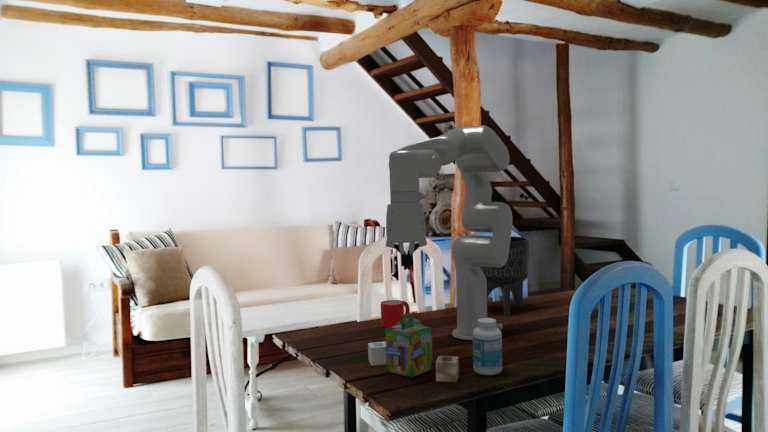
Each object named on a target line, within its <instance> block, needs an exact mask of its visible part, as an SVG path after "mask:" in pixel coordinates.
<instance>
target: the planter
mask: <svg viewBox="0 0 768 432" xmlns="http://www.w3.org/2000/svg"><path fill="white" fill-rule="evenodd" d="M529 253H530V239H529V238H528V237H523V236H512V235H511V240H510V248H509V255H508V260H507V262H506V264H505V265H504V266H502V267H498V268H495V267H480V268H481V269H482V271H483V273H484V274H485V277H486V280H487V301H488V299H489V296H490V294H491V293H492V292H493V291H494V290H495V289H498V288H500V289H501V295H502V303H503V304H502V305H503V315H504V316H511V294H512V296H513V300H514V306H515V308H518V309H520V308H523V302H524V301H523V299H524V297H523V296H524V293H523V292H524V291H523V290H524V282H525V281H526V280H527V279H528V278H529V263H530V262H529V261H530V260H529V259H530V254H529Z"/></svg>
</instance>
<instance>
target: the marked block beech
mask: <svg viewBox="0 0 768 432" xmlns="http://www.w3.org/2000/svg"><path fill="white" fill-rule="evenodd" d="M459 375H460V374H459V356H455V355H454V356H452V355H451V356H449V355H438V356H437V359H436V361H435V381H436V382H443V383H457V381H458V378H459Z"/></svg>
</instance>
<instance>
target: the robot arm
mask: <svg viewBox="0 0 768 432" xmlns="http://www.w3.org/2000/svg"><path fill="white" fill-rule="evenodd" d="M510 160H511V159H510V153H509V149H508V147H507V146H506V145H505V143H504V142H503V140H502V139H501V138H500V136H499V135H498V134H497V133H496V132H495V130H493V129H492V128H490V127H489V126H487V125H483V124H482V125H467V126H459V127H455V128H453V129H451V130H449V131H447V132H445V133H442V134H440V135H439V136H436V137H431V138H428V139H426V140H422V141H419V142H415V143H410V144H408V145H406V146H403V147H401V148H398V149H397V150H394V151H391V152H390V154H389V155H388V169H389V170H388V171H389V196H390V197H389V198H390V203H388V204H387V206H386V213H385V214H386V215H385V216H386V217H385V219H386V220H385V222H386V223H385V236H386V240H385V247H386V248H390V249H395V250H396V251H397V252H398V253H399V254H400V266H401V267H403V270H404V271H405V270H406V271H407V270H409V271H411V269H412V268H411V267H413V266H414V260H413V259H414V257H413V254H415V252H416V251H417V250H418V249H419V248H422V247H425V246H427V245H428V241H427V230H426V218H425V212H424V211H425V209H424V205H423V203H422V202H421V200H423V199H426V194H425V193H422V192H420V179H428V178H434V177H435V176H437V175H438V174H439V173H440V172H441V169H442V167H443V166H448V165H450V164H452V163H454V162H455V163H456V165H457V168H458V170H459V173H460V174H461V177H462V179H463V180H462V181H463V183H464V197H463V198H464V199H463V204H462V211H461V212H462V214H461V226H462V228H463V229H464V230H466V231H468V232H471V233H472V232H473V233H491V234H492V235H472V234H471V235H470V234H469V235H461V236H458V237H456V238H455V239H454V241H453V243H452V247H451V251H452V253H451V254H452V259H453V262H454V263H453V264H454V269H455V283H456V285H455V288H456V290H455V294H456V328H454V329H453V330H452V336H453V337H454V338H455V339H456V338H457V339H460V340H466V341H473V331H474V329H475V328H477V327H479V326H478V319H481V318H488V300H487V280H486V277H485V274H484V273H483V271H482V269H481V268H480V267H495V268H498V267H502V266H504V265H505V264H506V262H507V260H508V255H509V248H510V240H511V236H512V231H513V213H512V209H511V207H510V205H508V204H507V203H505V202H501V201H499V202H498V201H492V195H493V188H492V184H491V183H490V181H489V179H488V178H487V177H486V176H485V175H484V173H492V172H493V173H499V172H503V171H504V170H506V169H507V168H508V166H509V164H510ZM404 243H406V244H407V243H408V244H409V245H408V250H407V252H406V250H405V246H404ZM503 324H504V323H502V322H497V321H496V326H495V327H496V328H498V329H499V330H503V329H504V325H503Z"/></svg>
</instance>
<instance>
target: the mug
mask: <svg viewBox="0 0 768 432" xmlns="http://www.w3.org/2000/svg"><path fill="white" fill-rule="evenodd" d="M410 310H411V309H410V305H409V303H408V302H407V301H405V300H401V299H400V300H399V299H389V300H383V301H381V302H380V325H381V327H382V326H383V327H382V328H385V327H386V328H385V329H387V328H389V327H392V326H396V324H397V321H399V320H400V316H403V315H406V314H409V313H410V312H411V311H410Z"/></svg>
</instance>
